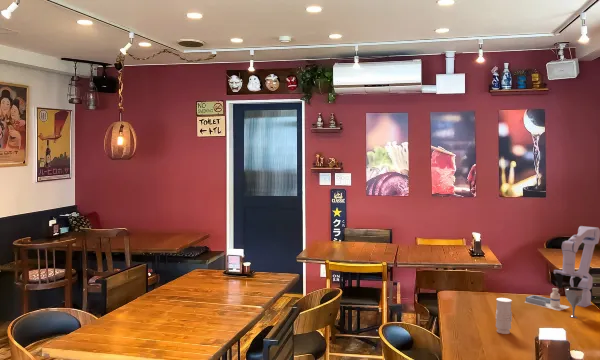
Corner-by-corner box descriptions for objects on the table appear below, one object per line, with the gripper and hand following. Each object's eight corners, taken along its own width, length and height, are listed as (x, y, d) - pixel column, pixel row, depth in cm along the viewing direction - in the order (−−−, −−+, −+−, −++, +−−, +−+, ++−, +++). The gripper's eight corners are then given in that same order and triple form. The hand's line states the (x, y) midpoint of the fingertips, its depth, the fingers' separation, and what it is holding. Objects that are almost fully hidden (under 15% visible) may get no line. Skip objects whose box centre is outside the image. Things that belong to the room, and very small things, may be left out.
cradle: (535, 299, 295) (535, 294, 295) (570, 308, 279) (570, 302, 279) (523, 303, 288) (523, 297, 288) (559, 311, 272) (559, 306, 272)
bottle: (552, 304, 283) (553, 287, 283) (561, 306, 280) (561, 289, 279) (548, 306, 280) (549, 288, 280) (557, 308, 277) (557, 290, 276)
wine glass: (584, 321, 257) (585, 291, 256) (567, 319, 258) (568, 290, 258) (579, 316, 265) (580, 287, 264) (562, 315, 266) (563, 286, 265)
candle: (509, 335, 235) (510, 302, 235) (493, 332, 239) (494, 300, 238) (512, 331, 241) (513, 299, 240) (497, 328, 245) (497, 297, 244)
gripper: (551, 262, 277) (550, 287, 277) (579, 266, 265) (577, 293, 265) (558, 261, 281) (556, 286, 281) (585, 265, 269) (584, 291, 269)
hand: (567, 289), depth 273 cm, fingers open, 7 cm apart
